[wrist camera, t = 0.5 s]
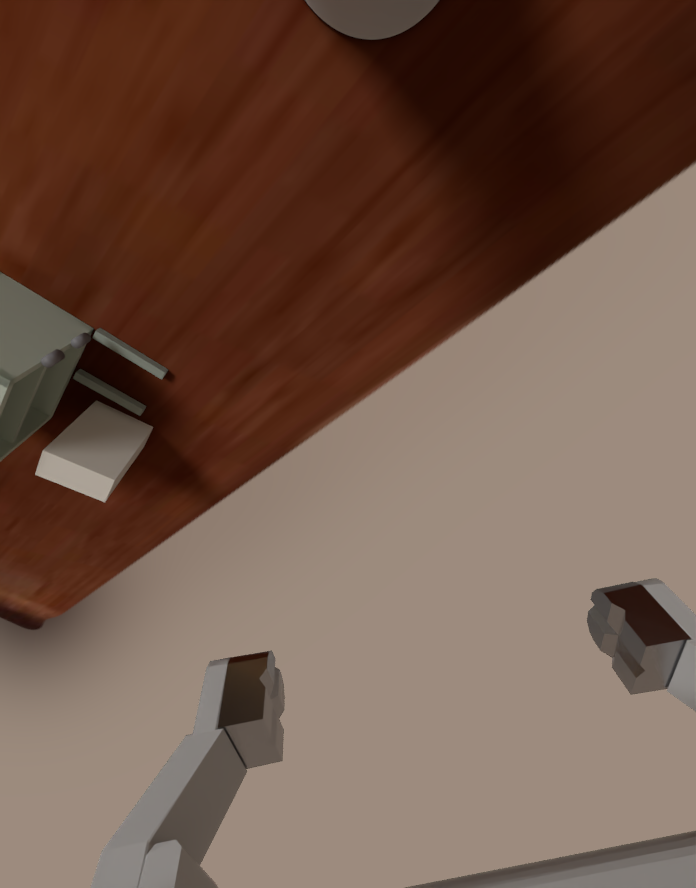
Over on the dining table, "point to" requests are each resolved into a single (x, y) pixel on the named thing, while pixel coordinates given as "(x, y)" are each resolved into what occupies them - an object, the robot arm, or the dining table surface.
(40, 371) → the cabinet
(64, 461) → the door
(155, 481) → the dining table surface
